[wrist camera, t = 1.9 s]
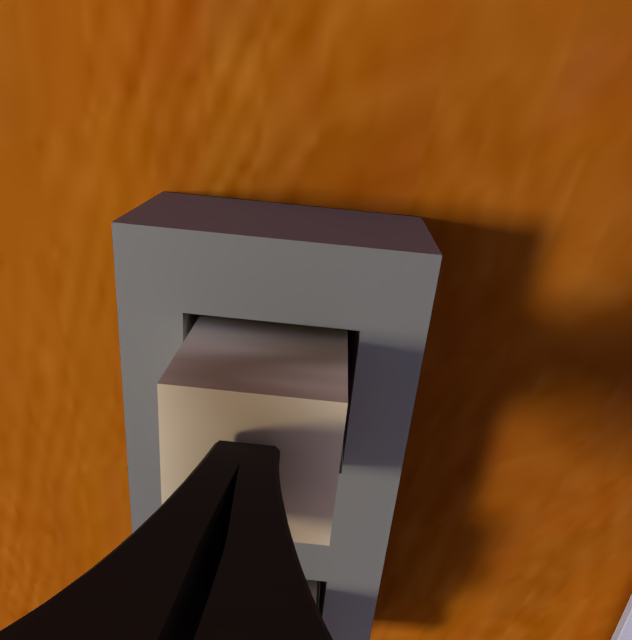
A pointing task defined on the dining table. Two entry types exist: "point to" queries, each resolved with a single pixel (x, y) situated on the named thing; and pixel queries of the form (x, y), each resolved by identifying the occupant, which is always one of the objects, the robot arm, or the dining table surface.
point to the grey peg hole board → (292, 308)
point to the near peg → (260, 408)
